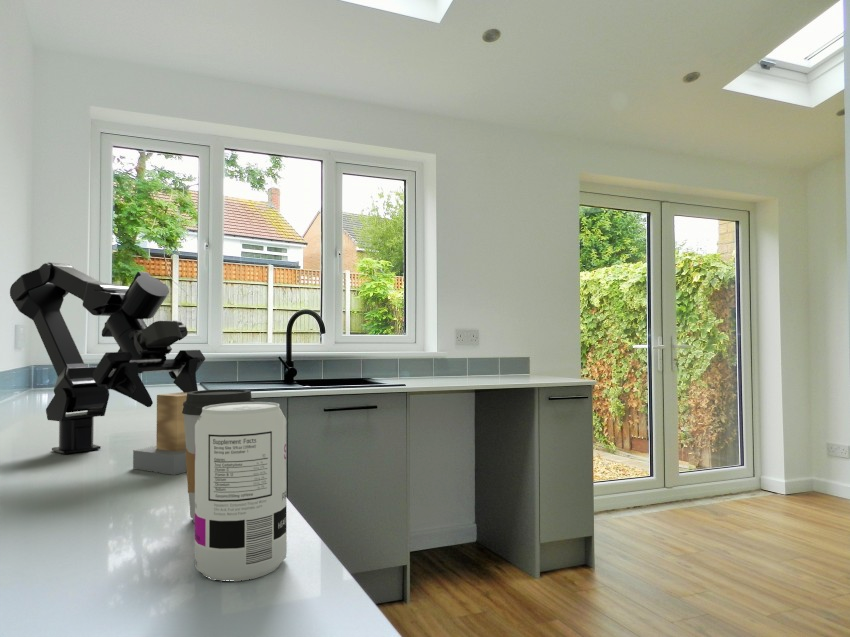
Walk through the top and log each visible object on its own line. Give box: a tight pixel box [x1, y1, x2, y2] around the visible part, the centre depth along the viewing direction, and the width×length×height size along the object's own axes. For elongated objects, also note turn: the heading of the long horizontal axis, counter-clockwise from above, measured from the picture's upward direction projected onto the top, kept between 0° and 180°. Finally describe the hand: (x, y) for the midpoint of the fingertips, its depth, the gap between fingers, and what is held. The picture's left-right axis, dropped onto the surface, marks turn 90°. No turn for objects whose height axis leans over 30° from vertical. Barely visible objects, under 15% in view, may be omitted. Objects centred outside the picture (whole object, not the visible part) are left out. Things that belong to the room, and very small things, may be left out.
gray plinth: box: [132, 445, 187, 476], centre depth 98 cm, size 10×10×3 cm
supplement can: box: [194, 401, 288, 582], centre depth 55 cm, size 8×8×15 cm
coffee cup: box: [182, 388, 255, 524], centre depth 69 cm, size 8×8×15 cm
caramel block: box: [156, 391, 187, 452], centre depth 98 cm, size 5×5×9 cm
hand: (174, 402), depth 99 cm, fingers open, 9 cm apart
